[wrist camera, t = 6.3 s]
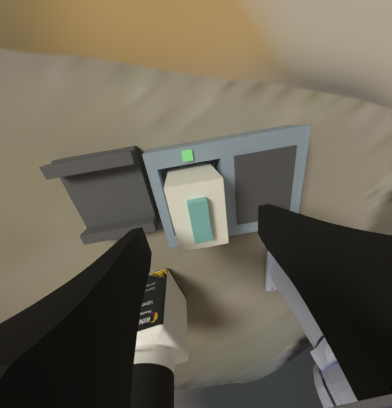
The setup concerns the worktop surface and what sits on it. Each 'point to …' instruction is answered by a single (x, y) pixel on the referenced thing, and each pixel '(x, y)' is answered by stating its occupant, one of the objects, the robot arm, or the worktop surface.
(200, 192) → the plug
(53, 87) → the worktop surface
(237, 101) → the worktop surface
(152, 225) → the bracket
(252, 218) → the port panel
